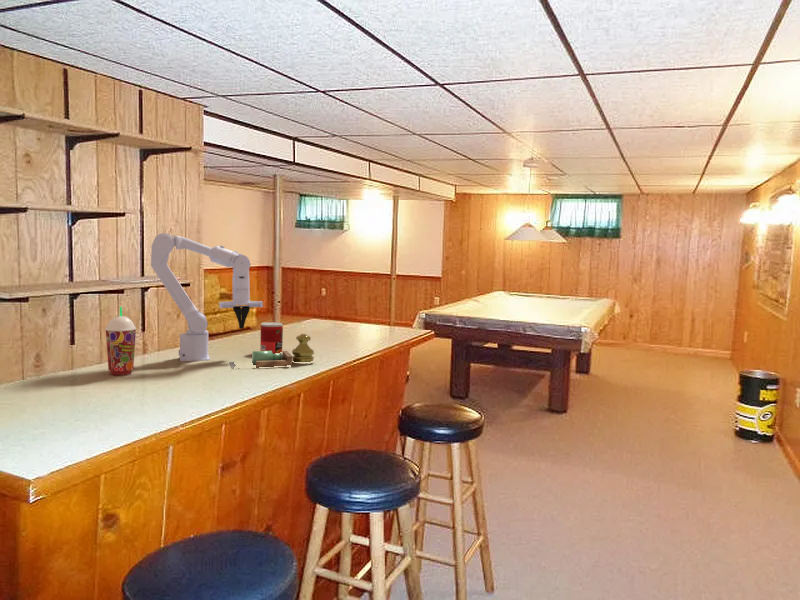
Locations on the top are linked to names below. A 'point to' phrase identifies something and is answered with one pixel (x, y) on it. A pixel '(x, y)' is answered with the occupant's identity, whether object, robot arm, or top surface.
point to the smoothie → (120, 345)
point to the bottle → (265, 356)
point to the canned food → (271, 337)
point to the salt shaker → (303, 350)
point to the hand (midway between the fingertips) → (241, 328)
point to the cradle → (272, 361)
